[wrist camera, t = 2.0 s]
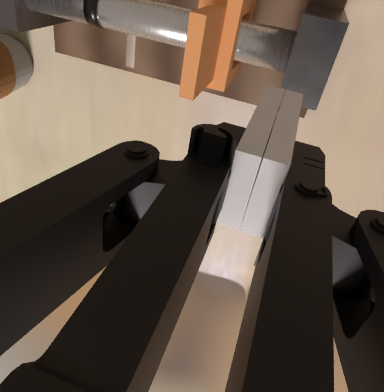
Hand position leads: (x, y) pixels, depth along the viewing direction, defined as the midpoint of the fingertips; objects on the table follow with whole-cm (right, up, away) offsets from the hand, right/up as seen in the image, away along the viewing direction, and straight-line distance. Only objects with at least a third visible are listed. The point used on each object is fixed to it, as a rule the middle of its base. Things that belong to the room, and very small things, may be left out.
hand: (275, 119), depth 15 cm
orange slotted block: (0, +11, +15) cm, 18 cm away
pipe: (-5, +15, +18) cm, 24 cm away
